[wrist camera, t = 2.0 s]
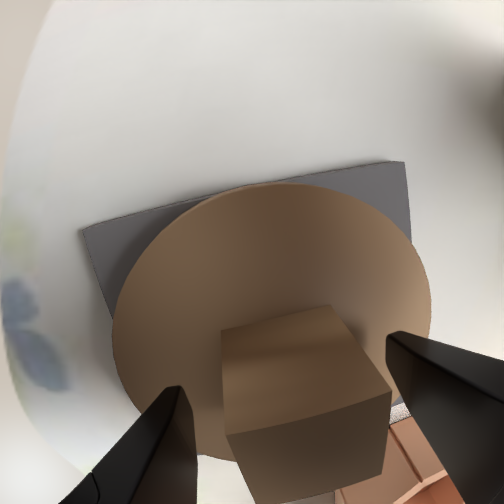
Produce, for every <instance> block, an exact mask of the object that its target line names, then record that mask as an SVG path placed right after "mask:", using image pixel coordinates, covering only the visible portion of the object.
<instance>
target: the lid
mask: <svg viewBox="0 0 504 504" xmlns="http://www.w3.org/2000/svg"><path fill="white" fill-rule="evenodd" d="M430 322H431V296H430V289H429V282H428V279H427V276H426V273H425V269H424V266H423V264H422V262H421V260H420V258H419V256H418V254H417V252H416V250H415V248H414V247H413V245H412V244H411V242H410V241H409V239H408V238H407V237H406V235H405V234H404V233H403V232H402V231H401V230H400V229H399V228H398V227H397V226H396V225H395V224H394V223H393V222H392V221H391V220H390V219H389V218H388V217H386V216H385V215H384V214H382V213H381V212H380V211H378V210H377V209H375V208H374V207H373V206H371V205H369V204H367V203H365V202H363V201H361V200H359V199H357V198H355V197H353V196H350V195H347V194H344V193H340V192H337V191H334V190H331V189H328V188H324V187H320V186H317V185H310V184H304V183H297V182H266V183H259V184H251V185H246V186H242V187H238V188H235V189H231V190H228V191H224V192H222V193H219V194H217V195H215V196H213V197H210V198H208V199H206V200H204V201H202V202H200V203H198V204H197V205H195V206H193V207H192V208H190V209H188V210H187V211H185V212H184V213H182V214H181V215H179V216H178V217H177V218H176V219H175V220H173V221H172V222H171V223H170V224H169V225H167V226H166V227H165V228H164V229H163V230H162V231H161V232H160V233H159V234H158V235H157V237H156V238H155V239H154V240H153V241H152V242H151V243H150V245H149V246H148V247H147V248H146V249H145V251H144V252H143V253H142V255H141V256H140V257H139V259H138V260H137V262H136V263H135V265H134V267H133V268H132V270H131V271H130V273H129V275H128V276H127V278H126V280H125V283H124V285H123V287H122V290H121V292H120V295H119V297H118V301H117V305H116V309H115V313H114V317H113V329H112V344H113V355H114V360H115V364H116V368H117V371H118V375H119V377H120V379H121V382H122V384H123V386H124V389H125V391H126V392H127V394H128V396H129V397H130V399H131V401H132V402H133V404H134V405H135V406H136V408H137V409H138V410H139V411H140V413H141V414H143V412H144V411H145V410H146V409H147V408H148V407H149V406H150V405H151V403H152V402H153V401H154V400H155V399H156V398H157V397H158V395H159V394H160V393H161V392H162V391H163V390H164V389H165V388H166V387H169V386H176V385H180V386H182V387H183V389H184V391H185V393H186V395H187V398H188V400H189V402H190V405H191V407H192V410H193V416H194V428H195V439H196V450H197V452H198V453H201V454H204V455H207V456H210V457H214V458H217V459H222V460H228V461H233V462H237V464H238V466H239V469H240V471H241V473H242V475H243V477H244V480H245V482H246V484H247V486H248V488H249V490H250V493H251V495H252V497H253V499H254V501H255V503H256V504H281V503H286V502H291V501H295V500H300V499H304V498H308V497H312V496H316V495H320V494H323V493H327V492H330V491H334V490H337V489H340V488H344V487H347V486H350V485H353V484H356V483H359V482H362V481H365V480H368V479H370V478H373V477H376V476H378V475H381V474H382V469H383V463H384V457H385V451H386V444H387V437H388V429H389V421H390V412H391V405H392V404H393V403H394V402H395V401H396V399H397V398H398V397H399V396H400V393H399V391H398V388H397V386H396V384H395V382H394V380H393V378H392V376H391V374H390V372H389V370H388V368H387V366H386V362H385V344H386V336H387V335H388V334H390V333H393V332H396V331H399V330H402V331H405V332H408V333H412V334H415V335H418V336H421V337H425V338H428V335H429V330H430Z"/></svg>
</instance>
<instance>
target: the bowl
mask: <svg viewBox="0 0 504 504" xmlns="http://www.w3.org/2000/svg"><path fill="white" fill-rule="evenodd" d="M335 504H465V502H464V501H463V499H462V497H461V496H460V494H459V492H458V490H457V489H456V487H455V485H454V484H453V482H452V480H451V479H450V477H449V475H448V474H447V472H446V470H445V469H444V467H443V465H442V464H441V462H440V460H439V459H438V457H437V455H436V454H435V452H434V451H433V449H432V447H431V446H430V444H429V443H428V441H427V439H426V438H425V436H424V434H423V433H422V431H421V430H420V428H419V427H418V425H417V423H416V422H415V420H414V419H413V417H412V416H411V417H409V418H406V419H404V420H402V421H399V422H397V423H394V424H392V425H390V429H388V437H387V444H386V451H385V457H384V463H383V469H382V474H381V475H378V476H376V477H373V478H370V479H368V480H365V481H362V482H359V483H356V484H353V485H350V486H347V487H344V488H340V489H337V490H335Z"/></svg>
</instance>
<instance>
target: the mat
mask: <svg viewBox="0 0 504 504" xmlns="http://www.w3.org/2000/svg"><path fill="white" fill-rule="evenodd" d="M274 182H297V183H304V184H310V185H317V186H320V187H324V188H328V189H331V190H334V191H337V192H340V193H344V194H347V195H350V196H353V197H355V198H357V199H359V200H361V201H363V202H365V203H367V204H369V205H371V206H373V207H374V208H375V209H377V210H378V211H380V212H381V213H382V214H384V215H385V216H386V217H388V218H389V219H390V220H391V221H392V222H393V223H394V224H395V225H396V226H397V227H398V228H399V229H400V230H401V231H402V232H403V233H404V234H405V235H406V237H407V238H408V239H409V241H410V242H411V244H412V240H411V223H410V210H409V199H408V189H407V180H406V171H405V164H404V162H397V161H393V162H385V163H378V164H372V165H365V166H359V167H352V168H346V169H340V170H334V171H328V172H322V173H316V174H311V175H305V176H300V177H295V178H289V179H284V180H279V181H274ZM221 193H222V192H221ZM217 194H219V193H217ZM217 194H212V195H208V196H204V197H199V198H195V199H191V200H187V201H183V202H178V203H174V204H170V205H166V206H162V207H158V208H154V209H151V210H147V211H143V212H139V213H135V214H132V215H128V216H124V217H120V218H117V219H113V220H110V221H106V222H103V223H99V224H96V225H92V226H90V227H88V228H86V229H84V230H83V234H84V237H85V241H86V244H87V247H88V251H89V254H90V257H91V260H92V263H93V266H94V269H95V272H96V275H97V278H98V281H99V284H100V287H101V290H102V292H103V295H104V298H105V301H106V303H107V306H108V308H109V311H110V314H111V316H112V319H113V317H114V313H115V309H116V305H117V301H118V297H119V295H120V292H121V290H122V287H123V285H124V283H125V280H126V278H127V276H128V275H129V273H130V271H131V270H132V268H133V267H134V265H135V263H136V262H137V260H138V259H139V257H140V256H141V255H142V253H143V252H144V251H145V249H146V248H147V247H148V246H149V245H150V243H151V242H152V241H153V240H154V239H155V238H156V237H157V235H158V234H159V233H160V232H161V231H162V230H163V229H164V228H165V227H166V226H167V225H169V224H170V223H171V222H172V221H173V220H175V219H176V218H177V217H178V216H179V215H181V214H182V213H184V212H185V211H187V210H188V209H190V208H192V207H193V206H195V205H197V204H198V203H200V202H202V201H204V200H206V199H208V198H210V197H213V196H215V195H217ZM403 402H404V401H403V399H402V397H401V395H400V396H399V397H398V398H397V399H396V401H395V402H394V403H393V404H392V405H391V407H393V406H396V405H398V404H401V403H403ZM197 455H204V454H201V453H198V452H197Z"/></svg>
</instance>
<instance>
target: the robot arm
mask: <svg viewBox="0 0 504 504" xmlns="http://www.w3.org/2000/svg"><path fill="white" fill-rule="evenodd" d="M385 362H386V366H387V368H388V370H389V372H390V374H391V376H392V378H393V380H394V382H395V384H396V386H397V388H398V391H399V393H400V395H401V397H402V399H403V401H404V403H405V405H406V407H407V409H408V411H409V412H410V414H411V416H412V417H413V419H414V420H415V422H416V423H417V425H418V427H419V428H420V430H421V431H422V433H423V434H424V436H425V438H426V439H427V441H428V443H429V444H430V446H431V447H432V449H433V451H434V452H435V454H436V455H437V457H438V459H439V460H440V462H441V464H442V465H443V467H444V469H445V470H446V472H447V474H448V475H449V477H450V479H451V480H452V482H453V484H454V485H455V487H456V489H457V490H458V492H459V494H460V496H461V497H462V499H463V501H464V502H465V504H504V361H503V360H500V359H496V358H492V357H489V356H485V355H482V354H479V353H475V352H472V351H468V350H465V349H461V348H458V347H455V346H451V345H448V344H444V343H441V342H438V341H434V340H431V339H428V338H425V337H421V336H418V335H415V334H412V333H408V332H405V331H402V330H399V331H396V332H393V333H390V334H388V335H387V336H386V344H385ZM197 475H198V461H197V450H196V439H195V428H194V416H193V410H192V407H191V405H190V402H189V400H188V398H187V395H186V393H185V391H184V389H183V387H182V386H180V385H176V386H169V387H166V388H165V389H164V390H163V391H162V392H161V393H160V394H159V395H158V397H157V398H156V399H155V400H154V401H153V402H152V403H151V405H150V406H149V407H148V408H147V409H146V410H145V411H144V412H143V414H142V415H141V416H140V417H139V418H138V419H137V420H136V422H135V423H134V424H133V425H132V426H131V427H130V428H129V429H128V431H127V432H126V433H125V434H124V435H123V436H122V437H121V438H120V439H119V441H118V442H117V443H116V444H115V445H114V446H113V447H112V448H111V449H110V451H109V452H108V453H107V454H106V455H105V456H104V457H103V458H102V459H101V461H100V462H99V463H98V464H97V465H96V466H95V467H94V468H93V469H92V472H90V473H89V474H88V475H87V476H86V477H85V478H84V479H83V480H82V481H81V482H80V483H79V484H78V485H77V487H75V488H74V489H73V490H72V491H71V493H70V494H68V495H67V496H66V497H65V498H64V499H63V500H62V501H61V502H60V503H58V504H197Z"/></svg>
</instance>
